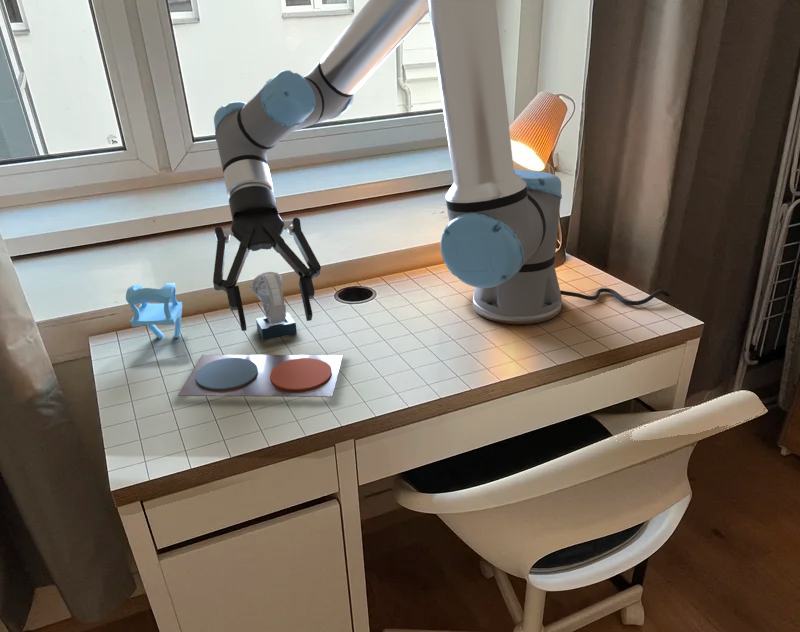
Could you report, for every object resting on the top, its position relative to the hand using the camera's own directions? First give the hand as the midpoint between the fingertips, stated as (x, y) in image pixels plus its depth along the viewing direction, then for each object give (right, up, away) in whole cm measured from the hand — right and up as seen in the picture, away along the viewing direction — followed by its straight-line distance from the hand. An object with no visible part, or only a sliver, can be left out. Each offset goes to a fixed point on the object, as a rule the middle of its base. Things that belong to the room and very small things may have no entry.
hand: (277, 322), depth 111 cm
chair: (-18, -5, +2) cm, 19 cm away
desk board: (-1, -9, -7) cm, 12 cm away
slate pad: (-6, -8, -7) cm, 13 cm away
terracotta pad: (+5, -8, -8) cm, 13 cm away
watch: (-1, -2, +5) cm, 5 cm away
